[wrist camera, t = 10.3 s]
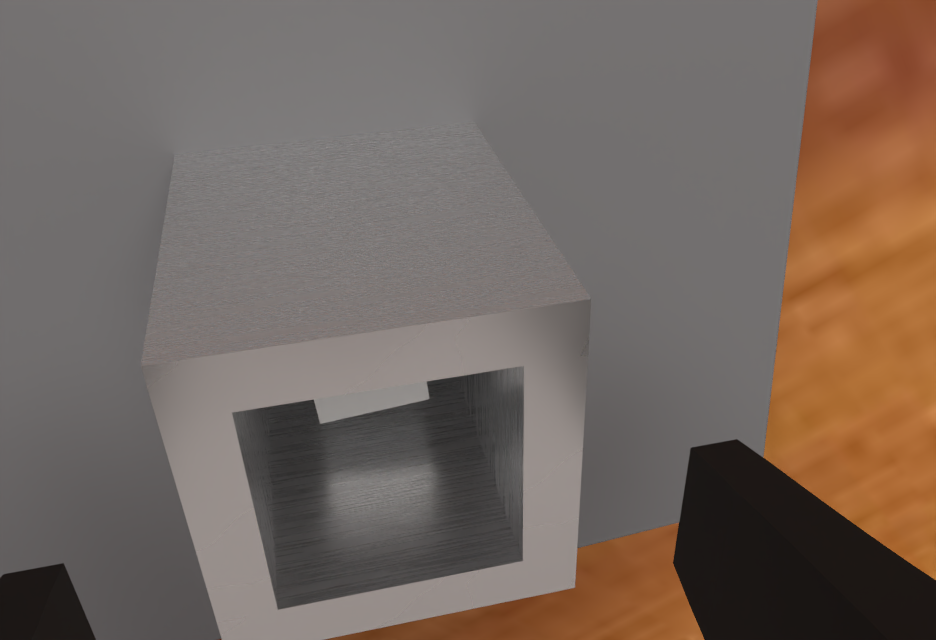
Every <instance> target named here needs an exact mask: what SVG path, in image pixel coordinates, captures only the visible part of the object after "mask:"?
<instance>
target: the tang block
mask: <svg viewBox="0 0 936 640" xmlns="http://www.w3.org/2000/svg"><path fill="white" fill-rule="evenodd" d="M816 9H817V0H0V577H1V576H2V575H3V574H7V573H13V572H18V571H24V570H29V569H34V568H40V567H45V566H51V565H56V564H62V563H64V565H65V567H66V570H67V572H68V574H69V577H70V579H71V582H72V584H73V586H74V589H75V591H76V593H77V596H78V598H79V600H80V603H81V605H82V608H83V610H84V612H85V615H86V617H87V619H88V622H89V624H90V627H91V629H92V631H93V634H94V636H95V638H96V640H217V639H221V635H220V632H219V628H218V625H217V622H216V618H215V615H214V611H213V608H212V605H211V601H210V598H209V595H208V591H207V588H206V584H205V581H204V578H203V574H202V571H201V568H200V564H199V561H198V557H197V554H196V551H195V547H194V544H193V541H192V537H191V534H190V531H189V527H188V524H187V520H186V517H185V514H184V510H183V507H182V504H181V500H180V497H179V493H178V490H177V487H176V483H175V480H174V477H173V473H172V470H171V467H170V463H169V460H168V456H167V453H166V450H165V446H164V443H163V440H162V436H161V433H160V429H159V426H158V423H157V419H156V416H155V413H154V409H153V406H152V402H151V399H150V396H149V392H148V389H147V386H146V382H145V379H144V376H143V372H142V369H141V361H142V355H143V349H144V343H145V336H146V330H147V324H148V318H149V312H150V305H151V299H152V293H153V287H154V281H155V275H156V268H157V262H158V256H159V250H160V244H161V238H162V231H163V225H164V219H165V213H166V207H167V201H168V194H169V188H170V182H171V176H172V170H173V163H174V157H175V155H177V154H186V153H195V152H204V151H214V150H223V149H232V148H241V147H250V146H259V145H268V144H278V143H287V142H296V141H305V140H314V139H323V138H332V137H341V136H351V135H360V134H369V133H378V132H387V131H396V130H405V129H414V128H424V127H433V126H442V125H451V124H460V123H469V122H474V123H475V124H476V126H477V127H478V129H479V130H480V132H481V133H482V135H483V136H484V138H485V139H486V141H487V142H488V144H489V145H490V147H491V148H492V150H493V151H494V153H495V154H496V156H497V157H498V159H499V160H500V162H501V163H502V165H503V166H504V168H505V169H506V171H507V172H508V174H509V175H510V177H511V178H512V180H513V182H514V183H515V185H516V186H517V188H518V189H519V191H520V192H521V194H522V195H523V197H524V198H525V200H526V201H527V203H528V204H529V206H530V207H531V209H532V210H533V212H534V213H535V215H536V216H537V218H538V219H539V221H540V222H541V224H542V225H543V227H544V228H545V230H546V231H547V233H548V234H549V236H550V237H551V239H552V240H553V242H554V243H555V245H556V246H557V248H558V249H559V251H560V253H561V254H562V256H563V257H564V259H565V260H566V262H567V263H568V265H569V266H570V268H571V269H572V271H573V272H574V274H575V275H576V277H577V278H578V280H579V281H580V283H581V284H582V286H583V287H584V289H585V290H586V292H587V293H588V295H589V296H590V298H591V314H590V332H589V350H588V367H587V385H586V402H585V420H584V438H583V455H582V473H581V491H580V508H579V526H578V543H577V548H580V547H584V546H588V545H592V544H596V543H600V542H603V541H607V540H611V539H615V538H619V537H623V536H627V535H631V534H635V533H639V532H643V531H647V530H651V529H655V528H659V527H663V526H666V525H670V524H674V523H678V522H679V521H680V515H681V508H682V501H683V495H684V488H685V482H686V475H687V468H688V462H689V455H690V449H691V448H692V447H697V446H702V445H708V444H713V443H719V442H724V441H730V440H735V439H738V440H739V441H741V442H742V443H743V444H745V445H746V446H748V447H749V448H750V449H752V450H753V451H755V452H756V453H757V454H759V455H760V456H762V457H763V456H764V447H765V439H766V430H767V422H768V413H769V405H770V397H771V388H772V380H773V371H774V363H775V354H776V346H777V338H778V329H779V321H780V312H781V304H782V295H783V287H784V279H785V270H786V262H787V253H788V245H789V236H790V228H791V220H792V211H793V203H794V194H795V186H796V177H797V169H798V161H799V152H800V144H801V135H802V127H803V118H804V110H805V102H806V93H807V85H808V76H809V68H810V59H811V51H812V43H813V34H814V26H815V17H816ZM428 399H430V398H429V392H428V386H427V381H426V382H420V383H414V384H407V385H401V386H395V387H389V388H382V389H376V390H370V391H364V392H357V393H351V394H345V395H339V396H332V397H326V398H320V399H314V402H315V406H316V410H317V414H318V417H319V421H320V424H322V423H326V422H331V421H335V420H340V419H344V418H349V417H353V416H357V415H362V414H366V413H371V412H375V411H379V410H384V409H388V408H393V407H397V406H402V405H406V404H410V403H415V402H419V401H424V400H428Z"/></svg>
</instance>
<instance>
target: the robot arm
mask: <svg viewBox="0 0 936 640" xmlns="http://www.w3.org/2000/svg"><path fill="white" fill-rule="evenodd" d="M673 564H674V566H675V569H676V571H677V574H678V576H679V579H680V581H681V584H682V586H683V589H684V591H685V594H686V596H687V599H688V601H689V604H690V606H691V609H692V611H693V613H694V616H695V618H696V620H697V623H698V625H699V627H700V630H701V632H702V634H703V637H704V639H705V640H936V580H934V579H933V578H931V577H930V576H928V575H927V574H925V573H924V572H922V571H921V570H919V569H918V568H916V567H915V566H913V565H912V564H910V563H909V562H907V561H906V560H904V559H903V558H902V557H900V556H899V555H897V554H896V553H894V552H893V551H891V550H890V549H888V548H887V547H886V546H884V545H883V544H881V543H880V542H879V541H877V540H876V539H874V538H873V537H871V536H870V535H869V534H867V533H866V532H864V531H863V530H862V529H860V528H859V527H857V526H856V525H855V524H853V523H852V522H850V521H849V520H848V519H846V518H845V517H843V516H842V515H841V514H839V513H838V512H836V511H835V510H834V509H832V508H831V507H830V506H828V505H827V504H826V503H824V502H823V501H821V500H820V499H819V498H817V497H816V496H815V495H813V494H812V493H810V492H809V491H808V490H806V489H805V488H804V487H802V486H801V485H800V484H798V483H797V482H796V481H794V480H793V479H791V478H790V477H789V476H787V475H786V474H785V473H783V472H782V471H781V470H779V469H778V468H777V467H775V466H774V465H773V464H771V463H770V462H768V461H767V460H766V459H764V458H763V457H762V456H760V455H759V454H757V453H756V452H755V451H753V450H752V449H750V448H749V447H748V446H746V445H745V444H743V443H742V442H741V441H739V440H738V439H735V440H730V441H724V442H719V443H713V444H708V445H702V446H697V447H692V448H691V449H690V455H689V462H688V468H687V475H686V482H685V488H684V495H683V501H682V508H681V515H680V521H679V528H678V534H677V541H676V548H675V554H674V561H673ZM0 640H96V638H95V636H94V634H93V631H92V629H91V627H90V624H89V622H88V619H87V617H86V615H85V612H84V610H83V608H82V605H81V603H80V600H79V598H78V596H77V593H76V591H75V589H74V586H73V584H72V582H71V579H70V577H69V574H68V572H67V570H66V567H65V565H64V563H62V564H56V565H51V566H45V567H40V568H34V569H29V570H24V571H18V572H13V573H7V574H3V575H2V576H1V577H0Z"/></svg>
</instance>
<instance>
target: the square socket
mask: <svg viewBox="0 0 936 640" xmlns="http://www.w3.org/2000/svg"><path fill="white" fill-rule="evenodd" d="M590 314H591V298H590V296H589V295H588V293H587V292H586V290H585V289H584V287H583V286H582V284H581V283H580V281H579V280H578V278H577V277H576V275H575V274H574V272H573V271H572V269H571V268H570V266H569V265H568V263H567V262H566V260H565V259H564V257H563V256H562V254H561V253H560V251H559V249H558V248H557V246H556V245H555V243H554V242H553V240H552V239H551V237H550V236H549V234H548V233H547V231H546V230H545V228H544V227H543V225H542V224H541V222H540V221H539V219H538V218H537V216H536V215H535V213H534V212H533V210H532V209H531V207H530V206H529V204H528V203H527V201H526V200H525V198H524V197H523V195H522V194H521V192H520V191H519V189H518V188H517V186H516V185H515V183H514V182H513V180H512V178H511V177H510V175H509V174H508V172H507V171H506V169H505V168H504V166H503V165H502V163H501V162H500V160H499V159H498V157H497V156H496V154H495V153H494V151H493V150H492V148H491V147H490V145H489V144H488V142H487V141H486V139H485V138H484V136H483V135H482V133H481V132H480V130H479V129H478V127H477V126H476V124H475V123H474V122H469V123H460V124H451V125H442V126H433V127H424V128H414V129H405V130H396V131H387V132H378V133H369V134H360V135H351V136H341V137H332V138H323V139H314V140H305V141H296V142H287V143H278V144H268V145H259V146H250V147H241V148H232V149H223V150H214V151H204V152H195V153H186V154H177V155H175V157H174V163H173V170H172V176H171V182H170V188H169V194H168V201H167V207H166V213H165V219H164V225H163V231H162V238H161V244H160V250H159V256H158V262H157V268H156V275H155V281H154V287H153V293H152V299H151V305H150V312H149V318H148V324H147V330H146V336H145V343H144V349H143V355H142V361H141V369H142V372H143V376H144V379H145V382H146V386H147V389H148V392H149V396H150V399H151V402H152V406H153V409H154V413H155V416H156V419H157V423H158V426H159V429H160V433H161V436H162V440H163V443H164V446H165V450H166V453H167V456H168V460H169V463H170V467H171V470H172V473H173V477H174V480H175V483H176V487H177V490H178V493H179V497H180V500H181V504H182V507H183V510H184V514H185V517H186V520H187V524H188V527H189V531H190V534H191V537H192V541H193V544H194V547H195V551H196V554H197V557H198V561H199V564H200V568H201V571H202V574H203V578H204V581H205V584H206V588H207V591H208V595H209V598H210V601H211V605H212V608H213V611H214V615H215V618H216V622H217V625H218V628H219V632H220V635H221V638H222V640H324V639H329V638H334V637H339V636H344V635H349V634H353V633H358V632H363V631H368V630H373V629H378V628H382V627H387V626H392V625H397V624H402V623H407V622H411V621H416V620H421V619H426V618H431V617H436V616H440V615H445V614H450V613H455V612H460V611H465V610H469V609H474V608H479V607H484V606H489V605H494V604H498V603H503V602H508V601H513V600H518V599H523V598H527V597H532V596H537V595H542V594H547V593H552V592H556V591H561V590H566V589H571V588H575V579H576V561H577V543H578V526H579V508H580V491H581V473H582V455H583V438H584V420H585V402H586V385H587V367H588V350H589V332H590ZM426 381H427V386H428V392H429V398H430V399H428V400H424V401H419V402H415V403H410V404H406V405H402V406H397V407H393V408H388V409H384V410H379V411H375V412H371V413H366V414H362V415H357V416H353V417H349V418H344V419H340V420H335V421H331V422H326V423H322V424H320V421H319V417H318V414H317V410H316V406H315V402H314V399H320V398H326V397H332V396H339V395H345V394H351V393H357V392H364V391H370V390H376V389H382V388H389V387H395V386H401V385H407V384H414V383H420V382H426Z"/></svg>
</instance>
